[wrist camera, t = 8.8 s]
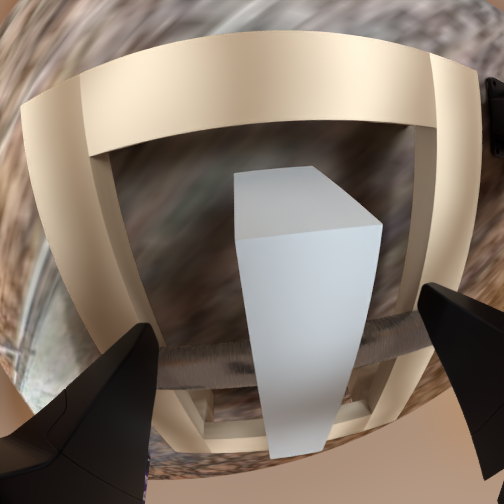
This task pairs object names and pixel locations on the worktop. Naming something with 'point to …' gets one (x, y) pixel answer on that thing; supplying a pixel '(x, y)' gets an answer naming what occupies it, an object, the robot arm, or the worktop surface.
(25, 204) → the worktop surface
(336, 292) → the long white beam
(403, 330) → the rod
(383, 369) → the shelf
